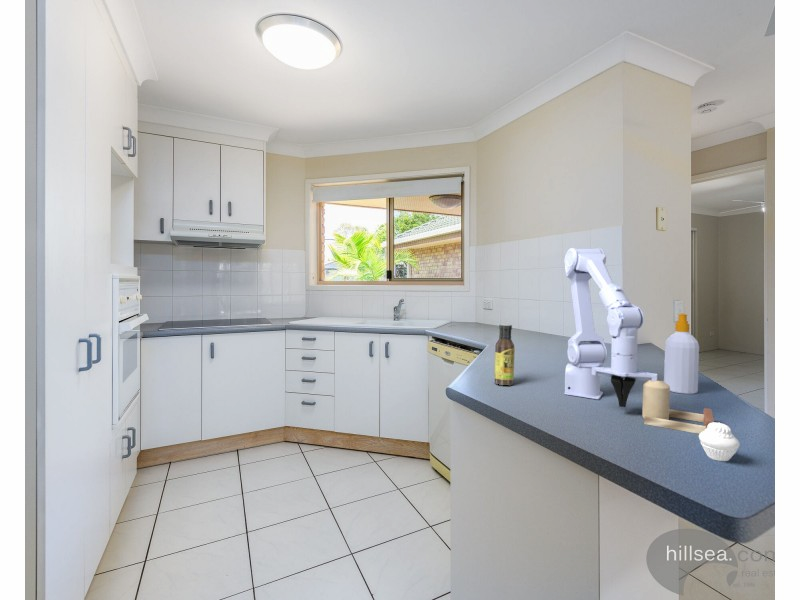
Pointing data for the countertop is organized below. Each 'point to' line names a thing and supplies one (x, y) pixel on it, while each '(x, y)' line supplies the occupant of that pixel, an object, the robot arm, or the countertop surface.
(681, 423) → the channel
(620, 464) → the countertop surface
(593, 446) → the countertop surface
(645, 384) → the candle
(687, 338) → the soap bottle
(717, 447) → the muffin
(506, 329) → the sauce bottle
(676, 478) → the countertop surface
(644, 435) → the countertop surface
